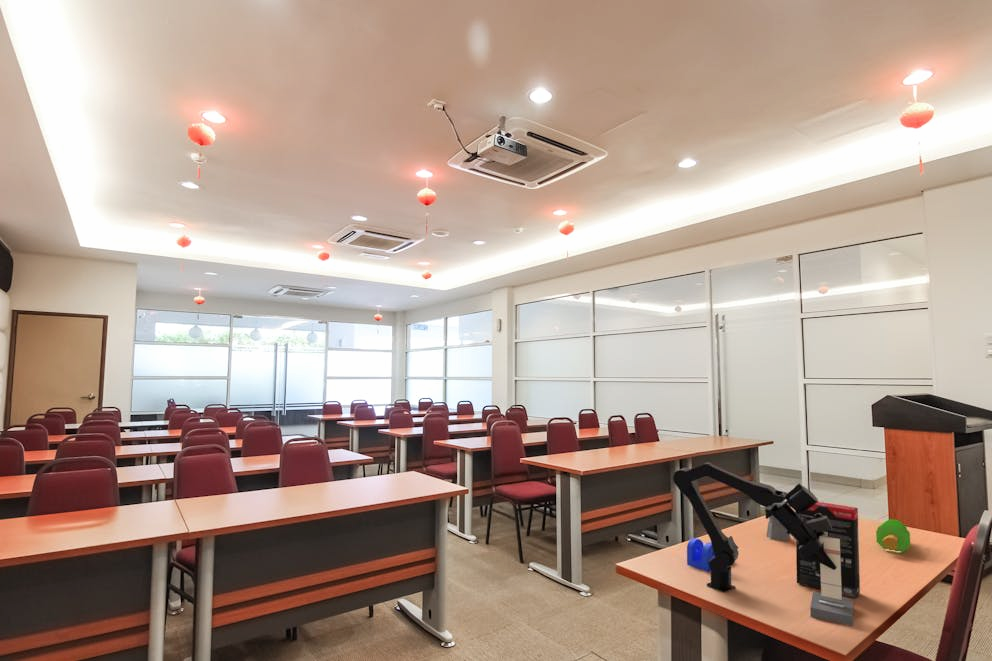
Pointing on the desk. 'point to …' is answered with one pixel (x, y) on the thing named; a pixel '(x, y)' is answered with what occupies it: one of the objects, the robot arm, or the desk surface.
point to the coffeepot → (776, 527)
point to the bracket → (699, 554)
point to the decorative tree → (893, 535)
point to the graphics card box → (847, 532)
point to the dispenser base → (832, 609)
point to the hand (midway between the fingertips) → (835, 567)
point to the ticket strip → (828, 575)
